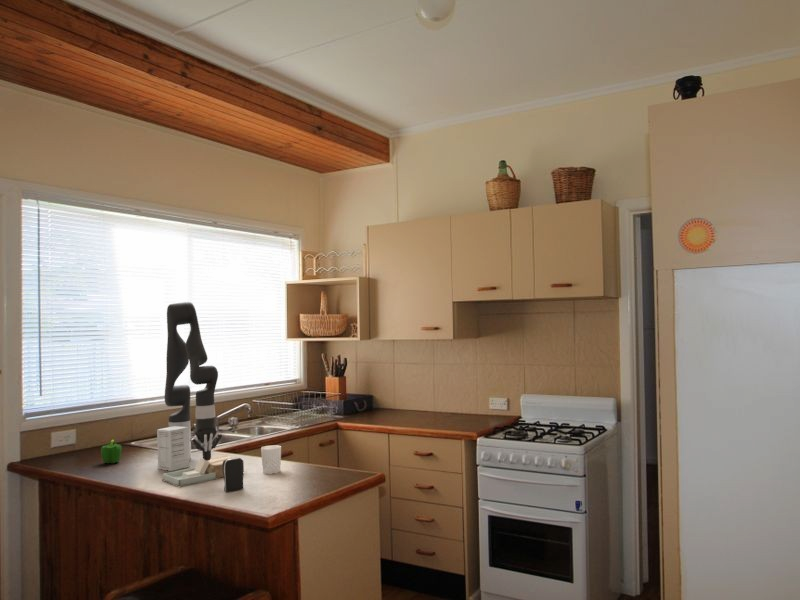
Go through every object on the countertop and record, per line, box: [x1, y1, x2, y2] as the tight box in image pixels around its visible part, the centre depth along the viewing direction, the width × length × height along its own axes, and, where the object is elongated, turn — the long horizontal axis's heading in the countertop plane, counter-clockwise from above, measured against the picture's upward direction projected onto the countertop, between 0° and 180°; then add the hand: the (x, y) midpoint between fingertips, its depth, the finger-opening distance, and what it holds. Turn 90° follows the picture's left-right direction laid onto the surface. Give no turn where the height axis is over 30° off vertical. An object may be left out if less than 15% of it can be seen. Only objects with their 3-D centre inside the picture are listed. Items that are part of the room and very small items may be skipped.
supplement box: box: [156, 426, 190, 472], centre depth 264 cm, size 10×9×17 cm
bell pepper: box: [100, 439, 123, 464], centre depth 279 cm, size 8×8×10 cm
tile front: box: [182, 471, 200, 479], centre depth 243 cm, size 5×5×2 cm
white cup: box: [260, 444, 282, 475], centre depth 251 cm, size 8×8×10 cm
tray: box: [161, 467, 217, 487], centre depth 243 cm, size 15×15×2 cm
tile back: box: [194, 458, 210, 474], centre depth 247 cm, size 5×5×2 cm
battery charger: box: [222, 457, 244, 493], centre depth 225 cm, size 7×4×11 cm, turn 131°
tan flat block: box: [204, 455, 245, 479], centre depth 252 cm, size 14×12×5 cm
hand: (206, 460), depth 248 cm, fingers closed
